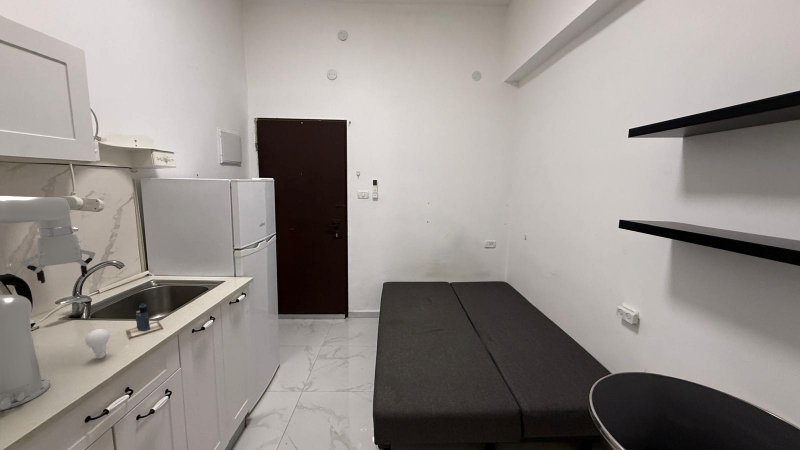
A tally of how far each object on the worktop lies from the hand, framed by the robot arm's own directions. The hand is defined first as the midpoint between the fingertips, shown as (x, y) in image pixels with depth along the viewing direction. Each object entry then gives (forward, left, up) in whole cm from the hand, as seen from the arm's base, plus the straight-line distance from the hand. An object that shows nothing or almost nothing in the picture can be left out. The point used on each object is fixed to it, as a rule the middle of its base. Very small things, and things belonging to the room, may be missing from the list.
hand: (64, 279), depth 105 cm
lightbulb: (-12, -6, -29) cm, 32 cm away
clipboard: (+2, -20, -29) cm, 35 cm away
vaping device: (+1, -19, -28) cm, 34 cm away
